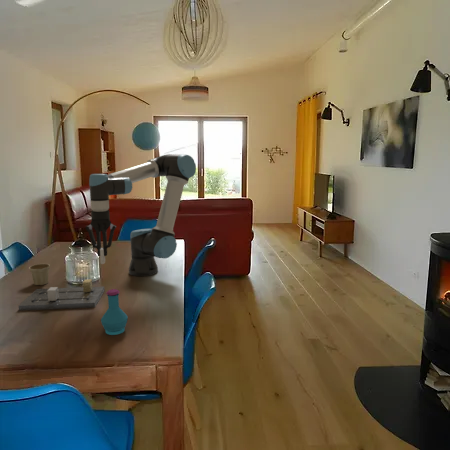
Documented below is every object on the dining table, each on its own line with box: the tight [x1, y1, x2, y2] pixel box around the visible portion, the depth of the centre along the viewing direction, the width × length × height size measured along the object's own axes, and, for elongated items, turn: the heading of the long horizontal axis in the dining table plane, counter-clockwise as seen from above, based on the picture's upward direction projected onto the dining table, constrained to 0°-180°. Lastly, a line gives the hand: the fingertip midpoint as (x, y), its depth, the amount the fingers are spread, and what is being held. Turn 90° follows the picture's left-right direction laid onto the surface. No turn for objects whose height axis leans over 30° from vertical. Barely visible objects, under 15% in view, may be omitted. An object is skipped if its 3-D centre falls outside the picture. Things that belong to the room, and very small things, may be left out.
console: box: [18, 286, 105, 311], centre depth 172 cm, size 30×20×2 cm, turn 96°
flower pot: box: [28, 263, 51, 286], centre depth 193 cm, size 9×9×9 cm
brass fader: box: [82, 278, 93, 292], centre depth 176 cm, size 3×4×4 cm
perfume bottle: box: [100, 288, 129, 336], centre depth 141 cm, size 9×9×15 cm
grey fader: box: [47, 286, 59, 301], centre depth 166 cm, size 3×4×4 cm
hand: (103, 262), depth 175 cm, fingers closed
